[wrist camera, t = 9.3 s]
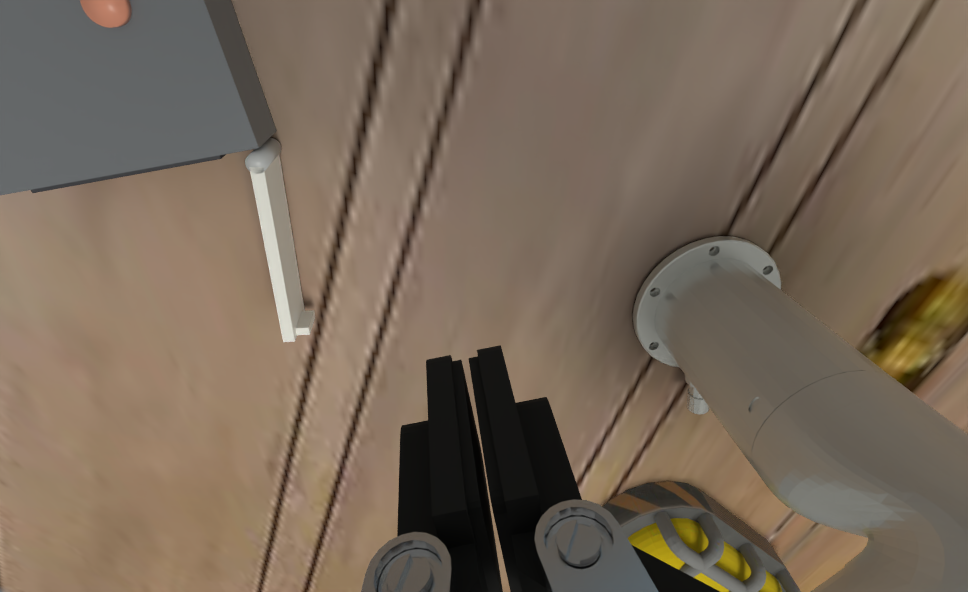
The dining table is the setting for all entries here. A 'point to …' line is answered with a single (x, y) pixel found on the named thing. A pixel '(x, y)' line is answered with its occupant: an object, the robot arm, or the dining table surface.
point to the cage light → (699, 538)
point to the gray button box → (122, 89)
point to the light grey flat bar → (278, 239)
